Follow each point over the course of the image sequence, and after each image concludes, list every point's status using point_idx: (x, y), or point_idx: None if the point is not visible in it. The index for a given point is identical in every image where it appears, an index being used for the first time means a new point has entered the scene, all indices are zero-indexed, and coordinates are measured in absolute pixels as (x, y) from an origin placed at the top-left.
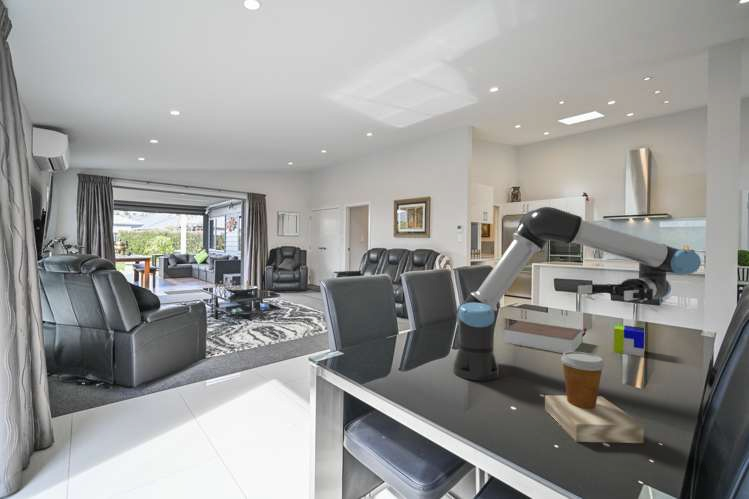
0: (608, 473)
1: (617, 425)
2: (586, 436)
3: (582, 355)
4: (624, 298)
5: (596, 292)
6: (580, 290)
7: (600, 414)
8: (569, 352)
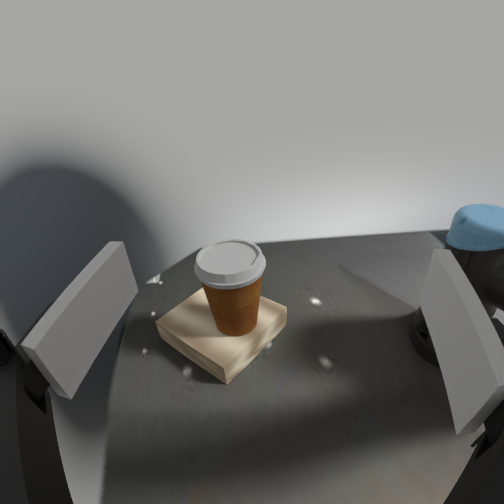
0: (182, 276)
1: (181, 303)
2: None
3: (234, 266)
4: (133, 281)
5: (455, 486)
6: (426, 280)
7: (204, 311)
8: (257, 260)
